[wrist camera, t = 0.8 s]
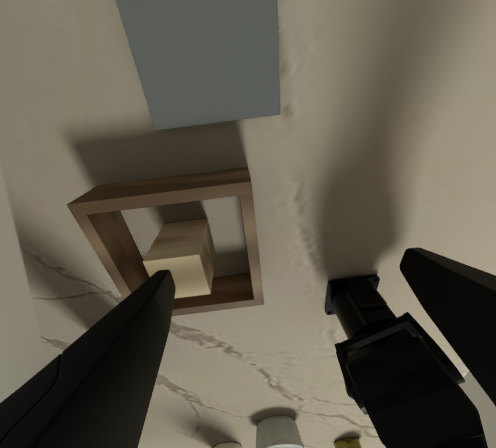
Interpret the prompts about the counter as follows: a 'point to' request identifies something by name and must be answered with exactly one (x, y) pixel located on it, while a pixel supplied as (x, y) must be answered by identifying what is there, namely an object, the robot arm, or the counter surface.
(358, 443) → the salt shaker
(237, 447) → the bottle
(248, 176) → the box
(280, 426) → the ramekin
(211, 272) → the maple block
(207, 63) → the pad
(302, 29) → the counter surface
